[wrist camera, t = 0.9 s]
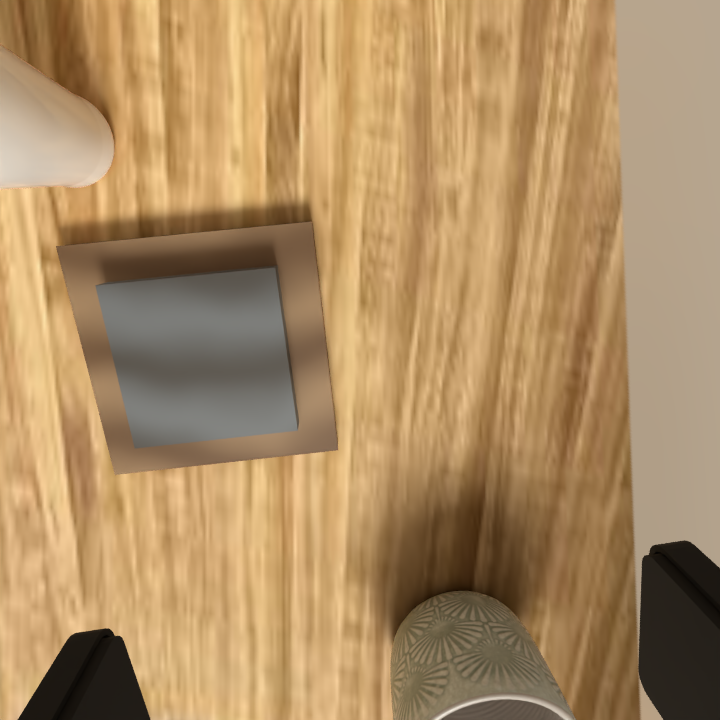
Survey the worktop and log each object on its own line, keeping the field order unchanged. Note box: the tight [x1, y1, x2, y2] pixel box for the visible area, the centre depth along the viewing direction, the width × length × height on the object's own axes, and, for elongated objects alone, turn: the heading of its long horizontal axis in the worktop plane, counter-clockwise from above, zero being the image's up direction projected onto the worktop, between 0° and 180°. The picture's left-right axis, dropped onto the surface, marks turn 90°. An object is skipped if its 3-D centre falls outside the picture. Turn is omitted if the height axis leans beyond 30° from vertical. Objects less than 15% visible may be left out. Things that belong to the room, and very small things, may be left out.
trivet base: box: [56, 221, 338, 475], centre depth 33 cm, size 16×16×3 cm
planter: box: [391, 591, 576, 720], centre depth 38 cm, size 12×12×11 cm
